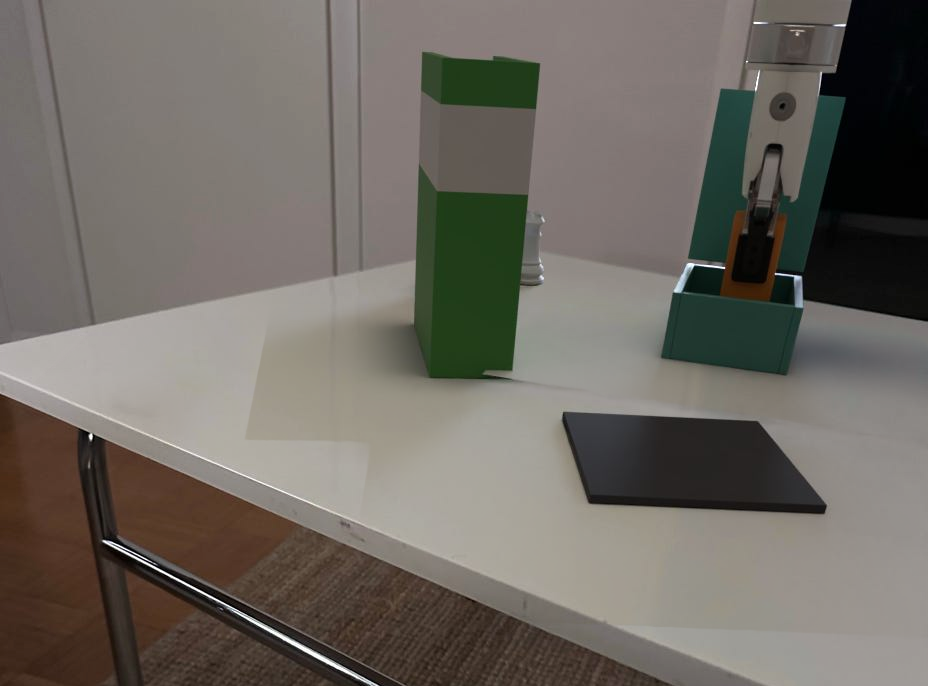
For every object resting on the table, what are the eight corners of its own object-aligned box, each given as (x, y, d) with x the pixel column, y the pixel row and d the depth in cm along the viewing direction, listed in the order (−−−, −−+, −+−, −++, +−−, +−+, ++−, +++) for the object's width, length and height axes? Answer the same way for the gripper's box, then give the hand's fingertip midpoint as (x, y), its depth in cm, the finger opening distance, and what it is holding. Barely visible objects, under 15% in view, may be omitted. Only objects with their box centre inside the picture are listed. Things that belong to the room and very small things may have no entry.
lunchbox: (784, 383, 86) (804, 308, 82) (659, 365, 88) (672, 292, 84) (785, 343, 97) (802, 276, 94) (674, 329, 100) (687, 262, 96)
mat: (756, 427, 75) (758, 420, 75) (825, 513, 62) (827, 505, 61) (561, 418, 75) (562, 411, 74) (589, 502, 61) (590, 494, 61)
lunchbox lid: (846, 97, 87) (845, 98, 87) (720, 88, 89) (721, 89, 90) (803, 272, 93) (803, 271, 94) (687, 258, 96) (688, 258, 96)
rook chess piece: (504, 277, 117) (510, 208, 112) (538, 277, 118) (545, 209, 113) (512, 285, 113) (518, 214, 109) (547, 285, 114) (555, 215, 110)
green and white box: (413, 323, 96) (422, 51, 83) (483, 325, 97) (503, 56, 84) (429, 377, 81) (442, 57, 68) (511, 378, 82) (540, 63, 69)
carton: (766, 317, 88) (786, 220, 83) (716, 312, 89) (734, 216, 84) (767, 306, 91) (786, 213, 87) (719, 302, 93) (736, 209, 88)
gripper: (844, 53, 71) (789, 299, 81) (835, 52, 84) (789, 263, 94) (744, 49, 73) (702, 291, 83) (751, 49, 86) (714, 256, 96)
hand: (749, 274), depth 88 cm, fingers closed on carton, 4 cm apart
